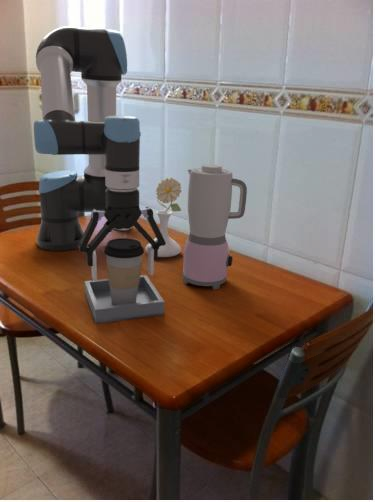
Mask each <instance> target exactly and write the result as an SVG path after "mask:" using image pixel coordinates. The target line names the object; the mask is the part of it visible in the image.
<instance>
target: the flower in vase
mask: <svg viewBox="0 0 375 502" xmlns="http://www.w3.org/2000/svg"><path fill="white" fill-rule="evenodd" d="M181 185H182V184H181V183H180V181H178V180H176V179H175V178H173V177H170V178H168V177H166V178H165V179H162V180H161V182H159V183H158V185H157V186H156V189H155V192H156V199H157V203H158V204H159V205H160V206H162V207H163V208H165V209H166V210H165V209H160V210H159V209H158V210H156V215H157V216H158V219H159V226H160V228H159V230H160V232H161V234H162V236H163V238H164V240H165V242H166V244H165V245H164V246H160V247H159V249H158V258H171V257H175V256H177V255H179V254H180V253H181V251H182V248H181V245H180V244H178V242H176V241H175V240H174V239H173V238H171V237H170V236H169V233H168V224H169V219H170V217H171V215H173V212H181V211H182V209H181V207H180V205H179V204H178V203H177V202H175V201H176V200H177V198H179V197H180V194H181V193H182V186H181ZM174 202H175V203H174ZM169 203H170V204H169ZM165 204H169V206H168V207H167V206H166V205H165ZM170 208H171V210H172V211H171V210H169V209H170ZM152 239H153V238H152ZM153 240H154V241H156V240H157V238H156V237H155V238H154V239H153ZM148 246H151V244H150V243H149V242H148V244H147V245H145V248H144V251H145V252H146V253H147V254H148Z"/></svg>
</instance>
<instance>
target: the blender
mask: <svg viewBox="0 0 375 502" xmlns="http://www.w3.org/2000/svg"><path fill="white" fill-rule="evenodd" d="M222 167H223V166H222V165H220V164H214V163H204V164H202V165H201V167H195V168H194V167H193V168H191V169H187V172H188V175H189V179H188V187H187V189H188V190H187V214H188V225H189V234H188V237H187V239H186V241H185V243H184V248H183V249H184V250H183V270H182V282H183V284H184V285H188V284H192V285H195V286H199V287H200V286H201V287H211V288H212V290H219V289H220V287H221V285H222V284H224V283H226V281H227V279H228V278H227V276H228V275H227V274H228V267H232V264H233V256H232V255H230V254H229V252H230V247H229V245H228V244H229V243H228V241H227V238H226V232H227V231H226V230H227V227H228V224H229V220H230V219H236V220H237V219H241V218H242V217H244V214H245V211H246V205H247V203H246V202H247V194H248V189H247V188H248V187H247V185H246V183H245V182H244V181H243V180H242V179H237V178H233V172H232V171H231V170H229V169H226V168H222ZM233 186H234V187H238V188H239V189H240V190H239V201H238V210H237V211H232V212H231V207H232V199H233V198H232V197H233V196H232V195H233Z"/></svg>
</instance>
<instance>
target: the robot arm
mask: <svg viewBox="0 0 375 502" xmlns="http://www.w3.org/2000/svg"><path fill="white" fill-rule="evenodd" d="M35 65H36V68H37V70H38V72H39V73H40V89H41V90H40V91H41V92H40V93H41V94H40V95H41V113H42V119H38V120H35V121H34V123H33V138H34V148H35V151H36V153H38V154H41V155H42V154H43V155H52V156H57V155H60V156H61V155H62V156H63V155H64V156H65V155H66V156H67V155H88V164H87V165H86V167H85V168H84V170H83V175H78V173H77V171H76V170H67V169H66V170H59V171H53V172H52V171H51V172H49V173H46V174H44V175H41V177H40V178H39V184H38V189H39V190H38V193H39V203H40V218H41V222H40V226H39V229H38V233H37V237H36V242H37V243H36V244H37V246H38V247H39V248H40V249H43V250H46V251H54V252H55V251H59V252H60V251H62V252H64V251H70V250H71V251H72V250H75V249H78V251H79V252H81V253H85V254H86V264H87V266H88V267H89V268H90V267H91V278H92V280H94V281H96V280H98V276H97V275H98V271H97V269H98V268H97V267H98V266H97V265H98V264H97V253H96V250H97V248H98V247H99V245H100V244H101V243H102V242H103V241H104V239H106V237H107V236H108V235H109V234H110V233H112V231H113V230H116V229H117V231H119V230H118V229H123V228H125V229H129V230H131V229H132V228H133V227H134V228H135V230H137V231H138V232H139V233H140V234H141V236H143V238H144V239H145V240H146V241H147V242H148V243H150V244H151V246H148V253H147V272H148V274H149V276H153V275H154V269H155V267H154V262H157V261H158V259H159V257H158V249H159V247H160V246H164V245H165V244H166V242H165V240H164V238H163V236H162V234H161V232H160V228H159V226H158V224H157V222H156V220H155V218H154V211H153V209H152V208H151V207H150V206H148V205H147V206H146V207H145V208H140V189H139V187H140V157H141V156H140V152H141V151H140V149H141V146H140V144H141V142H140V141H141V140H140V139H141V135H142V134H141V129H140V128H141V127H140V126H141V125H140V120H139V118H137V117H136V116H132V115H131V116H130V115H117V87H118V86H119V85H120V83H122V79H123V78H122V76H125V75H127V73H128V55H127V49H126V44H125V40H124V36H123V34H122V33H121V32H120V31H118V30H114V29H108V28H94V27H93V28H91V27H81V26H80V27H78V26H77V27H76V26H69V25H67V26H61V27H59V28H56V29H54V30H52V31H51V32H49V33H48V34H47V35H46V36H45V37H43V39H42V40H41V42H39V44H38V47H37V49H36V53H35ZM72 72H74V73H80V75H81V77H80V78H81V80H82V82H83V83H85V84H86V101H87V102H86V105H87V106H86V107H87V108H86V109H87V121H86V120H76V116H75V106H74V95H73V87H72V78H71V76H72V75H71V73H72ZM79 213H91V216H90V219H89V222H88V224H87V226H86V228H85V230H83V227H82V225H81V222H80V220H79ZM141 216H142V217H144V218H145V219H147V222H148V223H149V225H150V227H151V230H152V232H153V233H154V235H155V238H157V240H156V241H154V240H153V237H151V235H150V234H149V233H148V232H147V231H146V230H145V228H143V226H142V225H141V224H140V223H139V222H138V220H139V219H140V217H141ZM103 217H105V219H106V221H105V223H104V224H103V226H102V228H100V230H99V231H98V232H97V234H95V236H94V237H93V238H92V236H93V234H94V232H95V230H96V228H97V226H98V224H99V221H102V218H103ZM131 227H132V228H131ZM114 228H115V229H114ZM130 228H131V229H130ZM91 238H92V240H91Z"/></svg>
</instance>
